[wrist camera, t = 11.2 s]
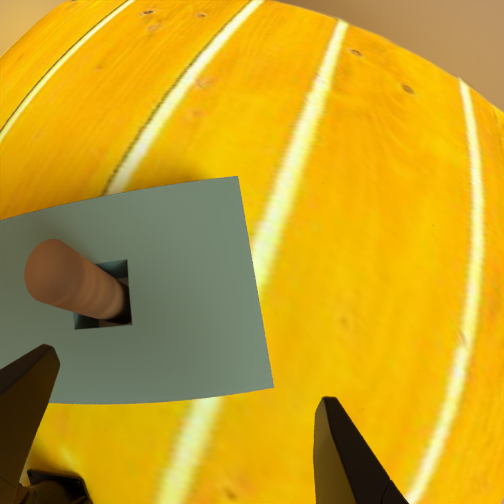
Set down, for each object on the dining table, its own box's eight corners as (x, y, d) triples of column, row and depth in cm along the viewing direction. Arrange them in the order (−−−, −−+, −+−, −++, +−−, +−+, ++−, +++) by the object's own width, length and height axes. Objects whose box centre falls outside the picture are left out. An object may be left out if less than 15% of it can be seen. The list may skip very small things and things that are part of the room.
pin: (106, 326, 22) (24, 305, 11) (103, 288, 23) (25, 243, 12) (141, 322, 22) (75, 300, 12) (138, 284, 23) (75, 234, 13)
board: (34, 393, 20) (0, 398, 15) (28, 240, 24) (-2, 220, 19) (264, 379, 22) (274, 387, 17) (235, 206, 26) (237, 175, 21)
